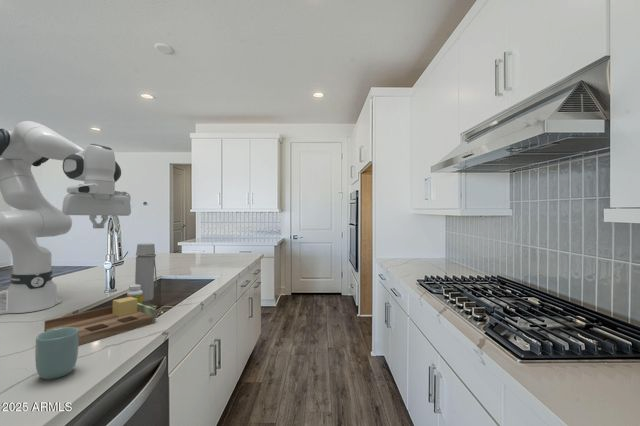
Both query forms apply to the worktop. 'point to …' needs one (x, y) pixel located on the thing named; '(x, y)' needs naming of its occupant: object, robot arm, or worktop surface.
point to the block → (124, 306)
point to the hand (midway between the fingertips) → (98, 228)
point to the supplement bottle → (135, 292)
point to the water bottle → (145, 270)
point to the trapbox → (103, 322)
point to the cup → (56, 352)
